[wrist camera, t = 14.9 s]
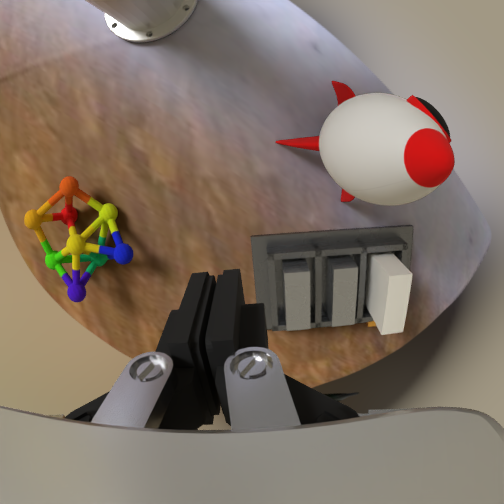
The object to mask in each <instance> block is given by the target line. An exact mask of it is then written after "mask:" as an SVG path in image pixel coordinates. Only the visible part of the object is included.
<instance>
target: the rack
mask: <svg viewBox="0 0 504 504" xmlns="http://www.w3.org/2000/svg"><path fill="white" fill-rule="evenodd" d="M412 238H413V226H412V225H406V226H389V227H372V228H356V229H340V230H325V231H310V232H295V233H281V234H267V235H254V236H251V245H252V256H253V267H254V278H255V289H256V300H257V303H264V307H265V316H266V325H267V329H272V331H281V330H287V331H291V330H303V329H310V328H317V327H328V326H332V327H335V326H344V325H353V324H355V323H364V322H366V324H367V326H368V327H371V326H376V324H375V322H374V320H373V318H372V316H371V314H370V313H369V311H368V309H367V307H366V305H365V304H364V301H365V291H366V279H367V266H368V253H374V252H387V251H391V252H392V253H393V254H394V255H395V256H396V257H397V258H398V259H399V260H400V261H401V262H402V263H403V264H404V266H405V267H406V268H407V269H408V270H410V261H411V250H412Z"/></svg>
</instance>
